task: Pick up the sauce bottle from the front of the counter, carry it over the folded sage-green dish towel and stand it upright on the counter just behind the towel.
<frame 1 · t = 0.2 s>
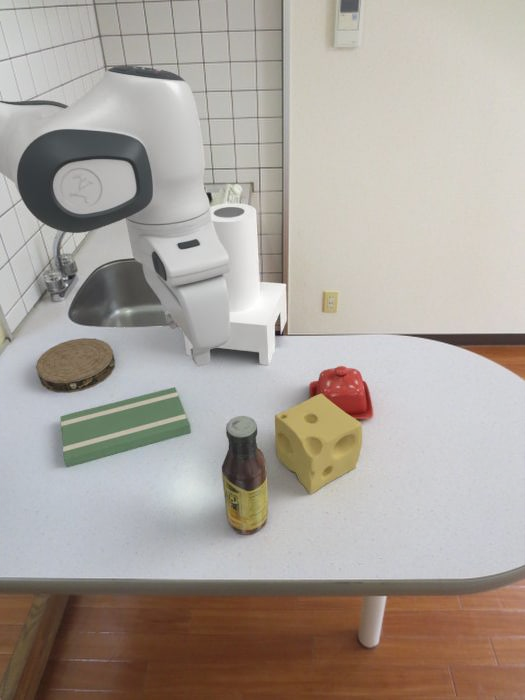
hand: (187, 343, 64), 31 cm above the table, tool pointing down, fingers open, 8 cm apart
towel: (125, 428, 98), on the table
butter dish: (339, 404, 101), on the table
cheese: (315, 463, 89), on the table
sauce bottle: (248, 521, 80), on the table
paper towel holder: (239, 338, 122), on the table
wooden log slice: (78, 370, 114), on the table
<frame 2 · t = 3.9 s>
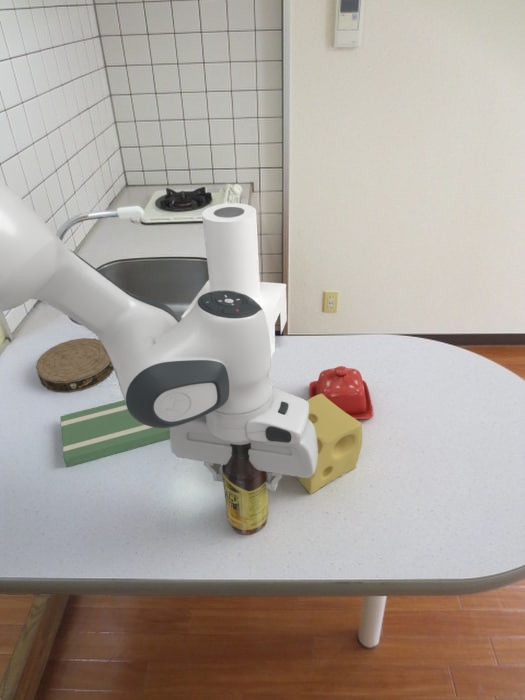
hand: (246, 482, 75), 8 cm above the table, tool pointing down, fingers closed on sauce bottle, 6 cm apart
sauce bottle: (248, 521, 80), on the table, touching arm, gripper
everything else where it was.
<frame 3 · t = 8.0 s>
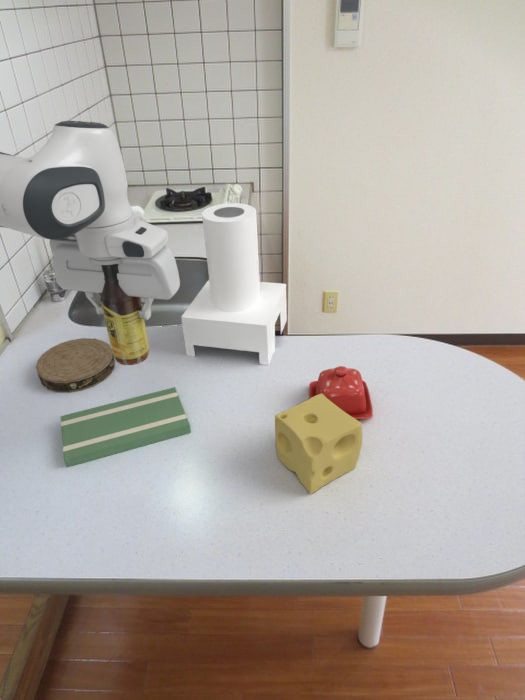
hand: (124, 315, 86), 23 cm above the table, tool pointing down, fingers closed on sauce bottle, 6 cm apart
sauce bottle: (132, 358, 91), point 15 cm above the table, touching arm, gripper
everything else where it was.
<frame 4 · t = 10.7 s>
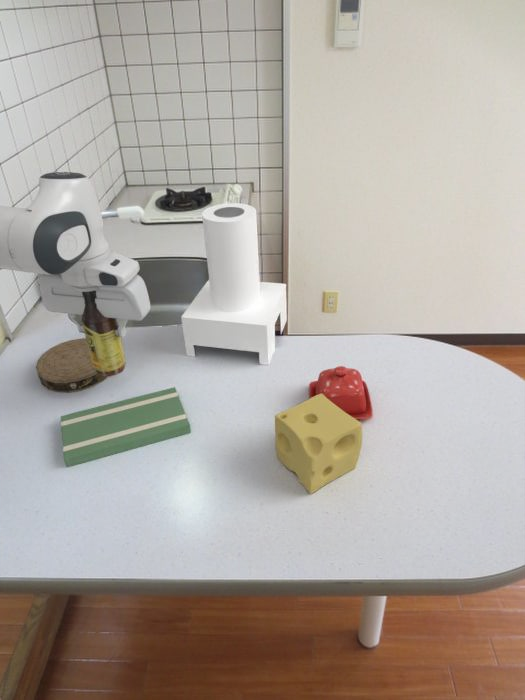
hand: (103, 333, 99), 14 cm above the table, tool pointing down, fingers closed on sauce bottle, 6 cm apart
sauce bottle: (111, 370, 104), point 6 cm above the table, touching arm, gripper
everything else where it was.
when the fingers open (8 cm above the table, at t = 12.6 s): sauce bottle stays where it is, on the table.
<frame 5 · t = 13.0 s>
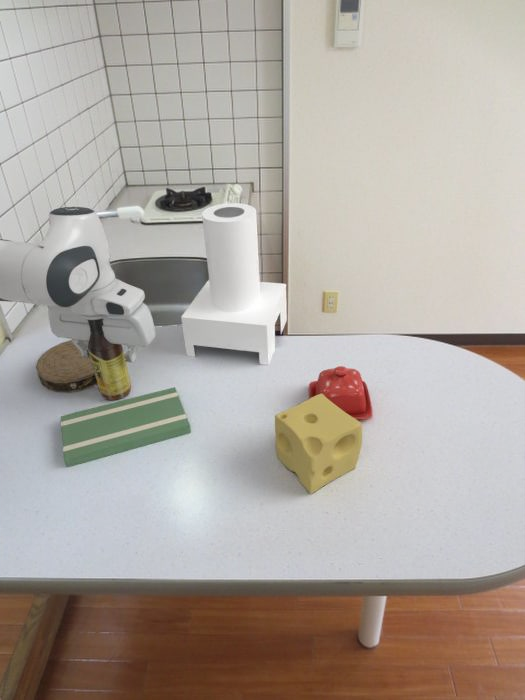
hand: (109, 358, 102), 9 cm above the table, tool pointing down, fingers open, 8 cm apart
sauce bottle: (117, 393, 107), on the table
everything else where it was.
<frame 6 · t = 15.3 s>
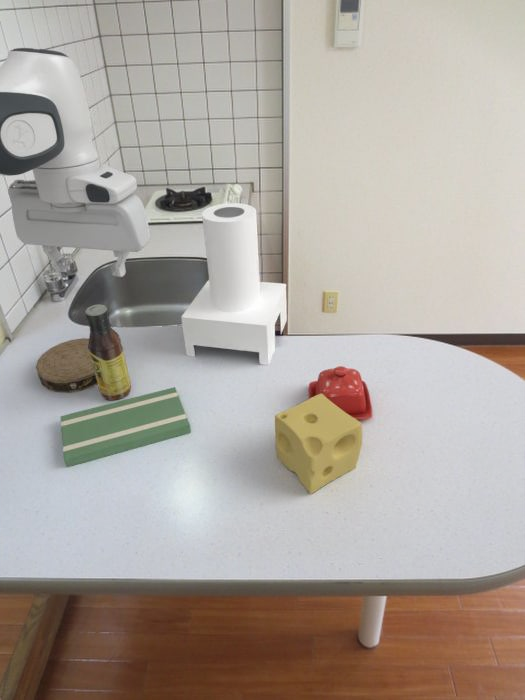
hand: (91, 273, 80), 32 cm above the table, tool pointing down, fingers open, 8 cm apart
nothing on the table moved.
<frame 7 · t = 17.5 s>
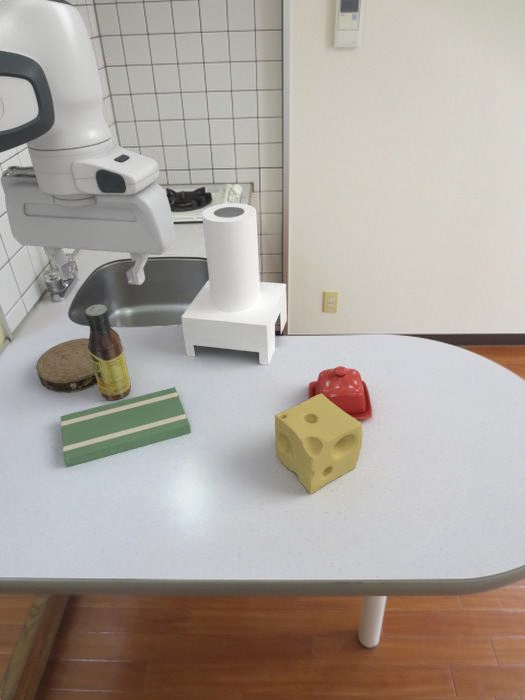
hand: (103, 279, 66), 37 cm above the table, tool pointing down, fingers open, 8 cm apart
nothing on the table moved.
at the end: sauce bottle inside the target area on the table beside the towel (0.7 cm from its centre), on the table; sauce bottle tilted 0°; the gripper is holding nothing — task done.
